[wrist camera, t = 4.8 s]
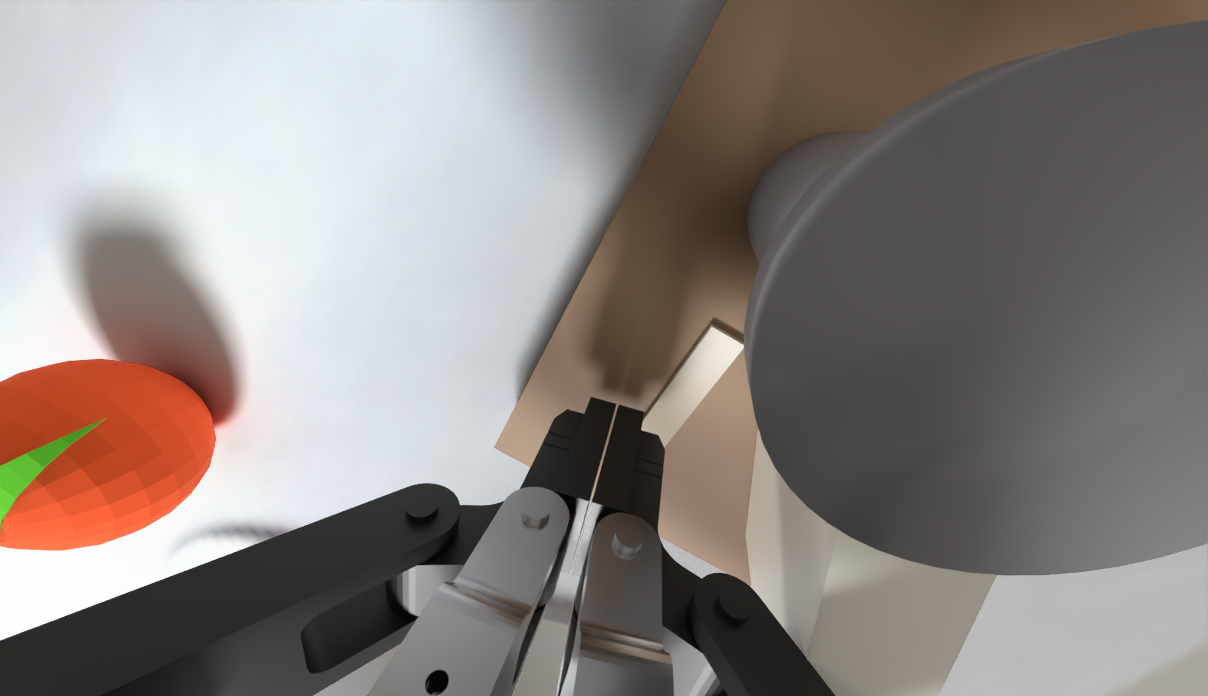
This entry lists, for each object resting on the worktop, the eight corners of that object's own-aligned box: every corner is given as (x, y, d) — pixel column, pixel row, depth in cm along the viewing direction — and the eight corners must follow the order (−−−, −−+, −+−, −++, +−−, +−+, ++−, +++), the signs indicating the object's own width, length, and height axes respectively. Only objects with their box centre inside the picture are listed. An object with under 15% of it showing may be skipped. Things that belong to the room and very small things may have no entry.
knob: (725, 106, 9) (783, 55, 3) (970, 88, 8) (1832, -36, 2) (702, 522, 14) (704, 835, 8) (852, 538, 13) (988, 902, 7)
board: (963, -438, 7) (1062, -648, 5) (1610, 23, 8) (1902, -11, 6) (515, 413, 17) (491, 451, 15) (831, 585, 17) (848, 643, 15)
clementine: (161, 285, 17) (-146, 376, 11) (298, 416, 19) (100, 559, 13) (93, 376, 20) (-176, 487, 14) (215, 481, 22) (25, 620, 16)
